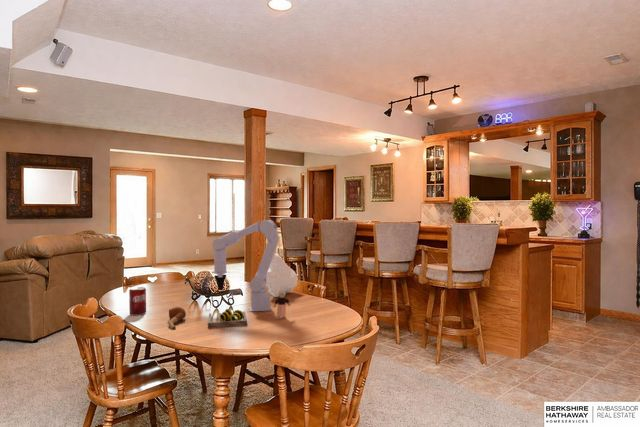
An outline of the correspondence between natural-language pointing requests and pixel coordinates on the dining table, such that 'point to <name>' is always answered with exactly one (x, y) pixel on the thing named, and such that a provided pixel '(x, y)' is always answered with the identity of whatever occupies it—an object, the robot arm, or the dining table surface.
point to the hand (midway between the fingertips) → (220, 289)
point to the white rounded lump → (280, 276)
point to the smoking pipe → (176, 316)
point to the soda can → (137, 301)
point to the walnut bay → (227, 322)
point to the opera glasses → (228, 315)
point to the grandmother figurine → (281, 305)
